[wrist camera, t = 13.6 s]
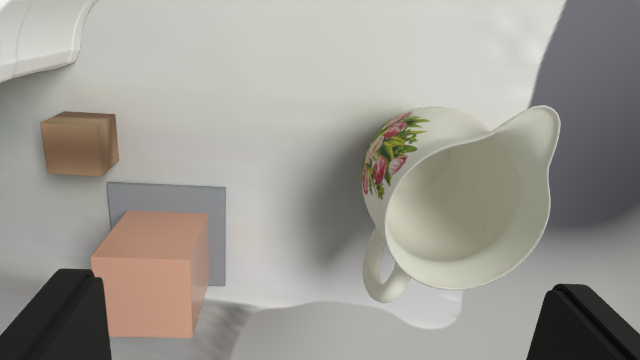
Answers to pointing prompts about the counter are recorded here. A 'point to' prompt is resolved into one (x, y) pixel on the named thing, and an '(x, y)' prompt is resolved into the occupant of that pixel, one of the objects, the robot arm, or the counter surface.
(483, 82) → the counter surface
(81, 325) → the robot arm
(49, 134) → the block
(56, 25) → the jar
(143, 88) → the counter surface
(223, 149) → the counter surface
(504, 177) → the pitcher
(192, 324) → the salmon pink block
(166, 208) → the mat
